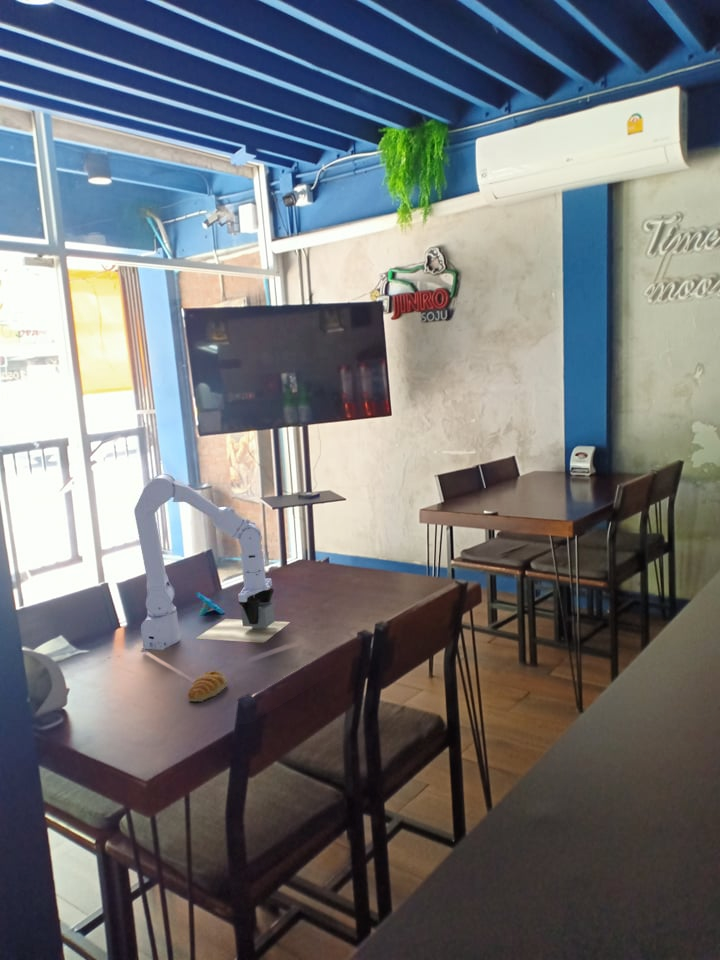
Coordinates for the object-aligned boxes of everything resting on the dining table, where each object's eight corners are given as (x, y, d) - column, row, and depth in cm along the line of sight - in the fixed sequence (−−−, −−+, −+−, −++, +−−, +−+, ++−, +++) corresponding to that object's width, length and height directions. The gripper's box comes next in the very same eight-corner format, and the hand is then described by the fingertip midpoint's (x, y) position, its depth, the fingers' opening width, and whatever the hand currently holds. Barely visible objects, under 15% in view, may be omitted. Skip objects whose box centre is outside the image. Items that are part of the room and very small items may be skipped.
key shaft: (264, 630, 193) (263, 617, 192) (252, 629, 194) (250, 616, 193) (267, 628, 194) (265, 615, 194) (255, 627, 195) (253, 614, 195)
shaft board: (264, 646, 184) (263, 642, 183) (195, 642, 191) (195, 638, 191) (290, 625, 197) (290, 622, 197) (226, 622, 205) (225, 618, 205)
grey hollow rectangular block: (266, 627, 190) (264, 608, 189) (242, 626, 193) (240, 607, 192) (275, 620, 195) (273, 602, 194) (252, 619, 197) (250, 601, 197)
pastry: (208, 705, 153) (206, 688, 152) (180, 703, 155) (178, 686, 155) (230, 686, 162) (228, 669, 161) (203, 685, 164) (201, 668, 163)
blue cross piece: (228, 613, 207) (199, 592, 205) (215, 630, 206) (186, 610, 204) (224, 607, 218) (197, 587, 216) (212, 624, 217) (184, 604, 215)
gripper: (253, 578, 184) (258, 630, 185) (279, 562, 197) (284, 611, 199) (228, 577, 186) (234, 629, 188) (256, 562, 199) (261, 610, 201)
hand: (258, 620), depth 194 cm, fingers closed on grey hollow rectangular block, 5 cm apart
